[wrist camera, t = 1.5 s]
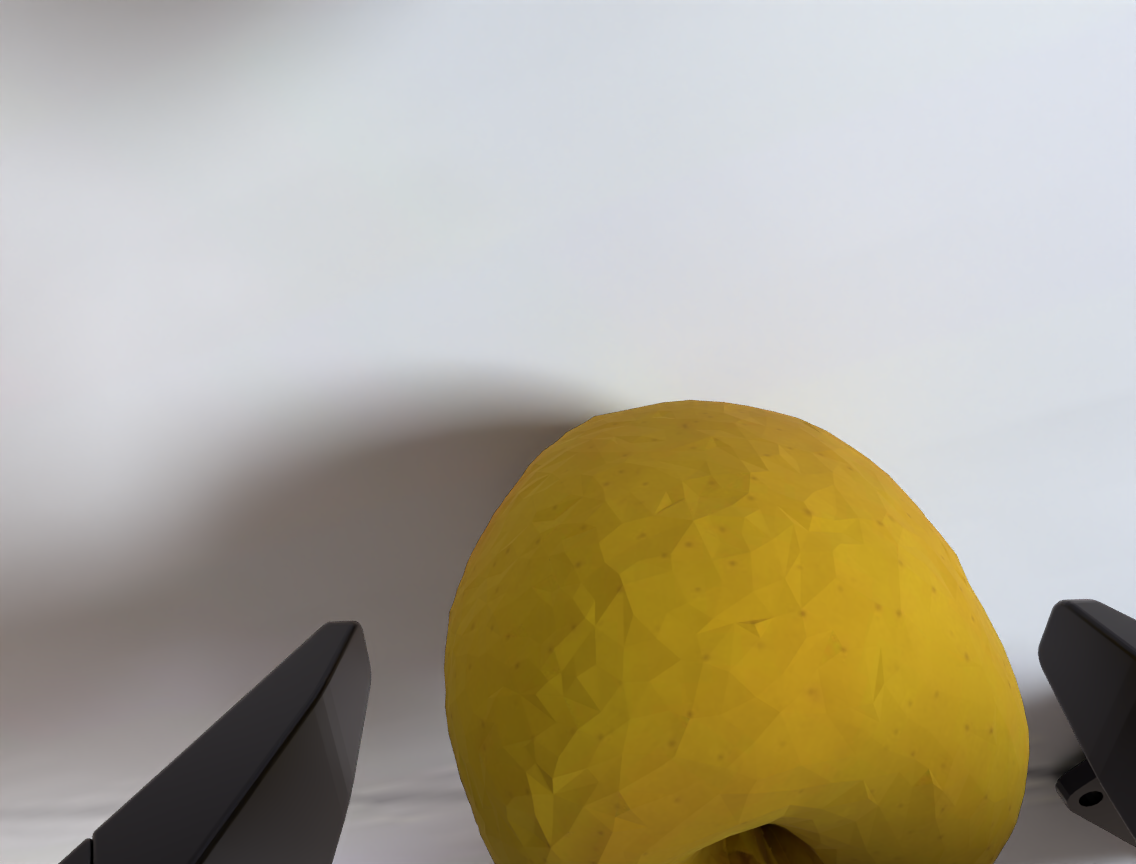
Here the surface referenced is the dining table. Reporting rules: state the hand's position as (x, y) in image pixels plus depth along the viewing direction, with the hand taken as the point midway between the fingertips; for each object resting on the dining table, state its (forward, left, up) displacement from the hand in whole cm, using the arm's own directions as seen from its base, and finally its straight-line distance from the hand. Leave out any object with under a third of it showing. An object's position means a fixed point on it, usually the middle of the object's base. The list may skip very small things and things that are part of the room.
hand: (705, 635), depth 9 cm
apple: (0, 0, -4) cm, 4 cm away
